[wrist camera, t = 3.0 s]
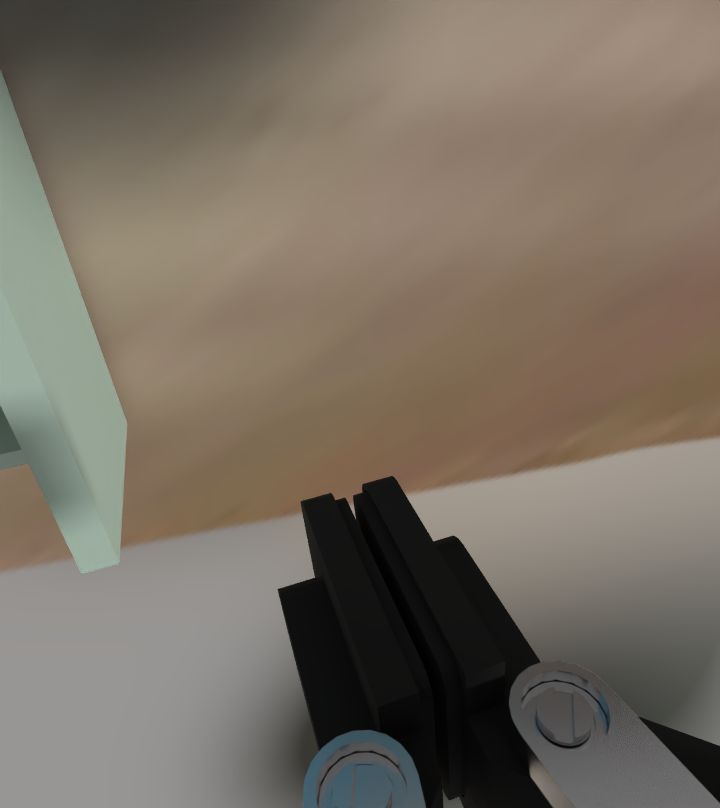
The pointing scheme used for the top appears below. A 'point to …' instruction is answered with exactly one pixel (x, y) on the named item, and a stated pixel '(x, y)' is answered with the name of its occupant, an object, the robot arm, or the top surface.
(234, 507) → the top surface
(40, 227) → the tray
